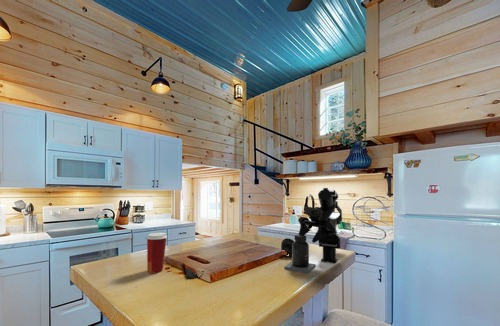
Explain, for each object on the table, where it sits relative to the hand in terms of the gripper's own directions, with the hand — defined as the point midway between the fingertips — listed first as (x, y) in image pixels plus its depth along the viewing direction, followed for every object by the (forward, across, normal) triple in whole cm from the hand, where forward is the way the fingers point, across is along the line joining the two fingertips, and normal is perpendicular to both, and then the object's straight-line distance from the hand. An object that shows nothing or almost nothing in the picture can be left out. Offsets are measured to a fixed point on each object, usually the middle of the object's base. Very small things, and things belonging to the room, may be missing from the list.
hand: (305, 240), depth 105 cm
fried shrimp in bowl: (+2, -17, +13) cm, 22 cm away
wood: (+39, -16, -23) cm, 48 cm away
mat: (+10, +1, +5) cm, 11 cm away
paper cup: (+48, -20, -33) cm, 62 cm away
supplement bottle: (+9, +1, +5) cm, 10 cm away
